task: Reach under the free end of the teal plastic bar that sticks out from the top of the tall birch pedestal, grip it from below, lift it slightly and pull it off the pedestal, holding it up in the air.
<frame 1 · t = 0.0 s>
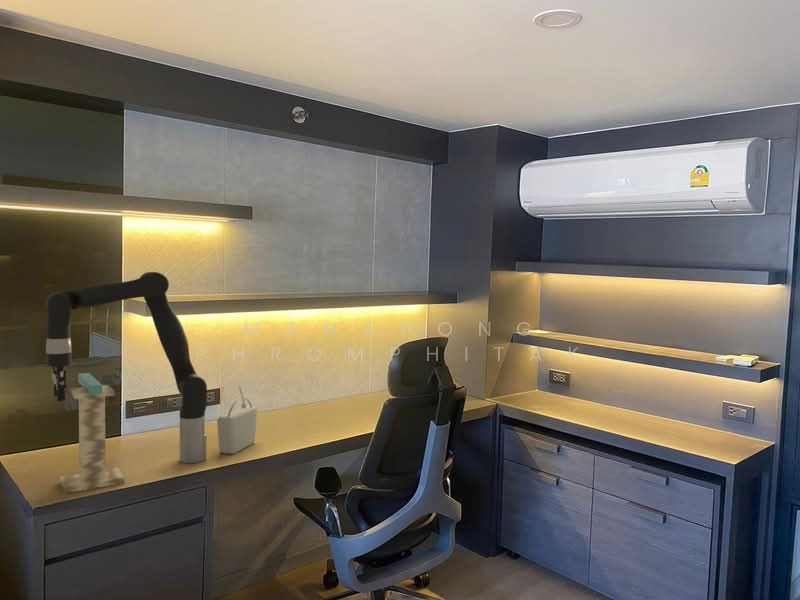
hand: (59, 398, 205), 29 cm above the table, tool pointing down, fingers open, 8 cm apart
white handbag: (236, 448, 250), on the table
stand: (92, 482, 207), on the table
bar: (89, 387, 208), point 32 cm above the table, touching stand
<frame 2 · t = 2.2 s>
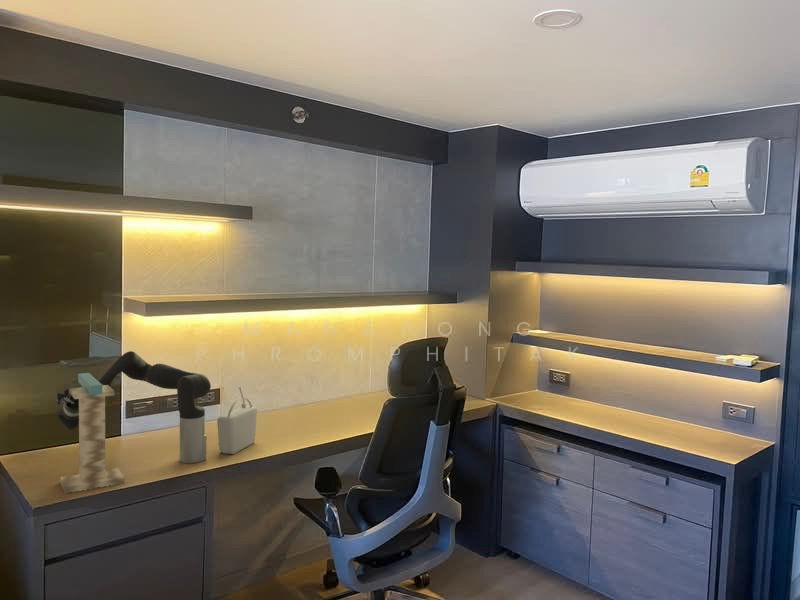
hand: (80, 390, 224), 28 cm above the table, tool pointing upward, fingers open, 8 cm apart
nothing on the table moved.
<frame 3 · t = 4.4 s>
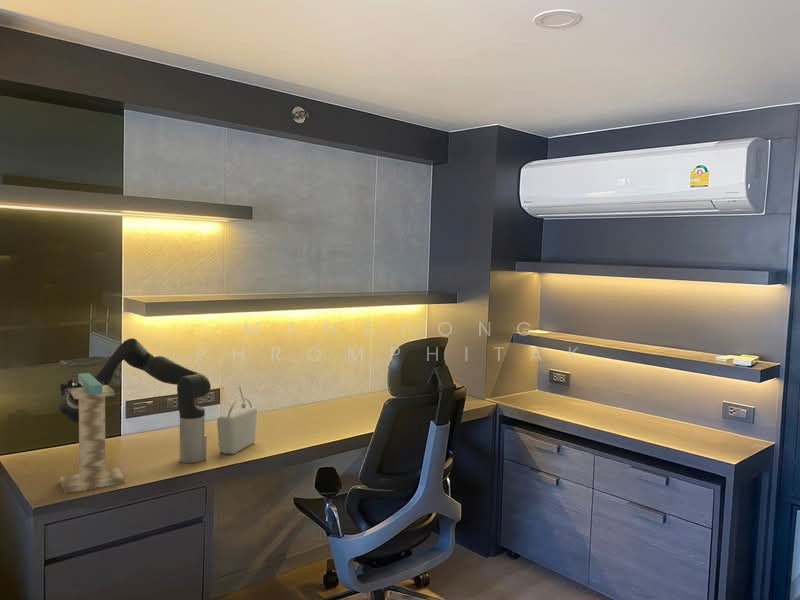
hand: (84, 380, 217), 33 cm above the table, tool pointing upward, fingers open, 8 cm apart
nothing on the table moved.
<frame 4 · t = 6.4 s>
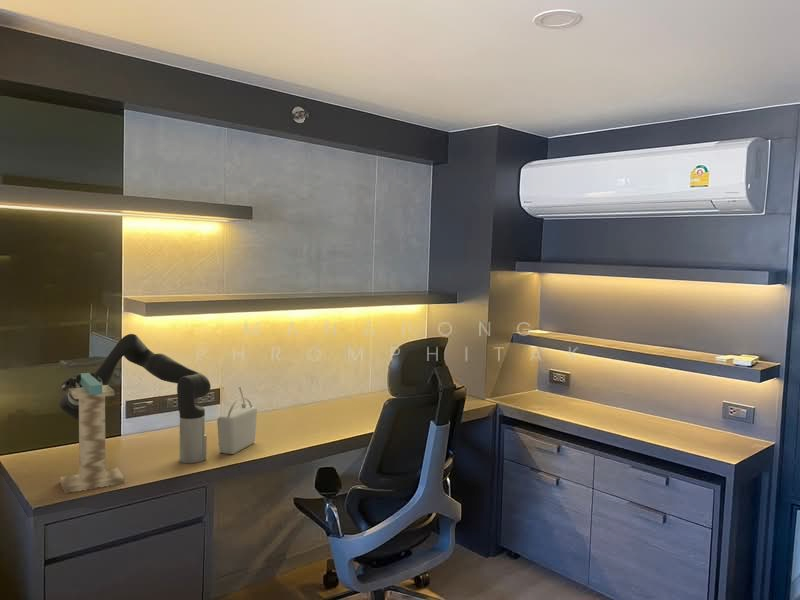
hand: (86, 376, 214), 35 cm above the table, tool pointing upward, fingers closed on bar, 3 cm apart
bar: (89, 387, 208), point 33 cm above the table, touching gripper, stand
everything else where it was.
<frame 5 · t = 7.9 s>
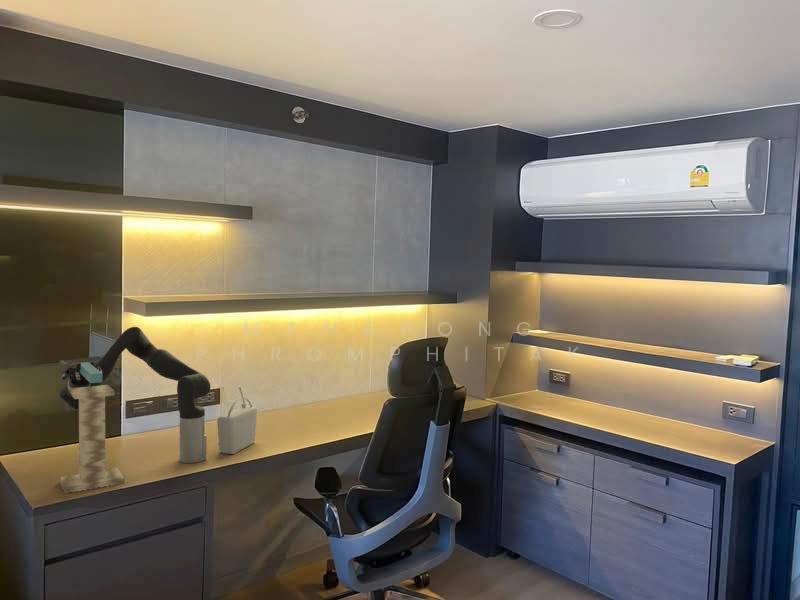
hand: (86, 365, 213), 39 cm above the table, tool pointing upward, fingers closed on bar, 3 cm apart
bar: (89, 376, 208), point 36 cm above the table, touching gripper
everything else where it was.
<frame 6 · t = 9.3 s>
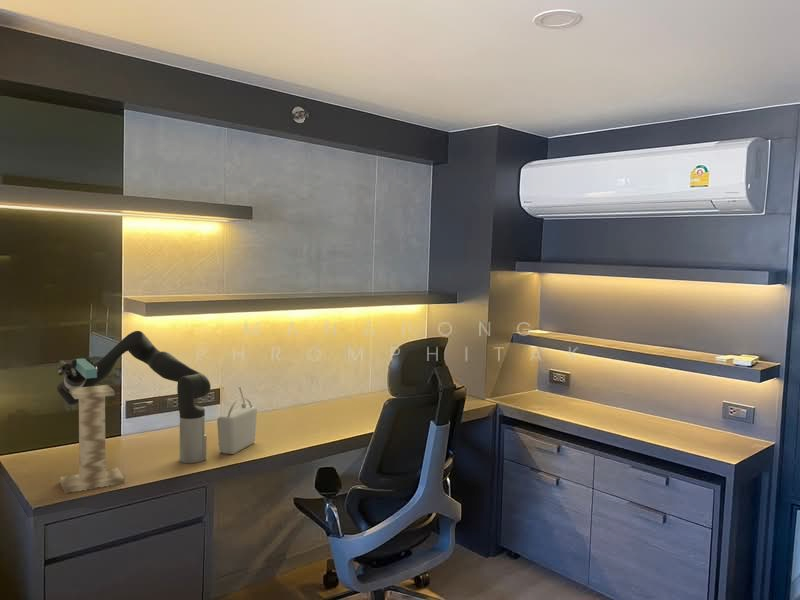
hand: (81, 361, 221), 39 cm above the table, tool pointing upward, fingers closed on bar, 3 cm apart
bar: (84, 372, 215), point 36 cm above the table, touching gripper
everything else where it was.
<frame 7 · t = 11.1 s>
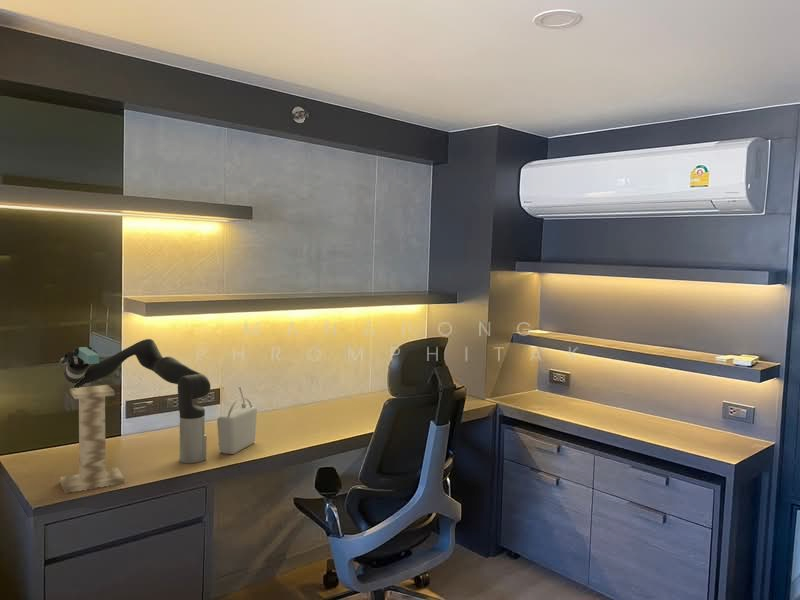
hand: (83, 349, 228), 43 cm above the table, tool pointing upward, fingers closed on bar, 3 cm apart
bar: (87, 359, 222), point 40 cm above the table, touching gripper
everything else where it was.
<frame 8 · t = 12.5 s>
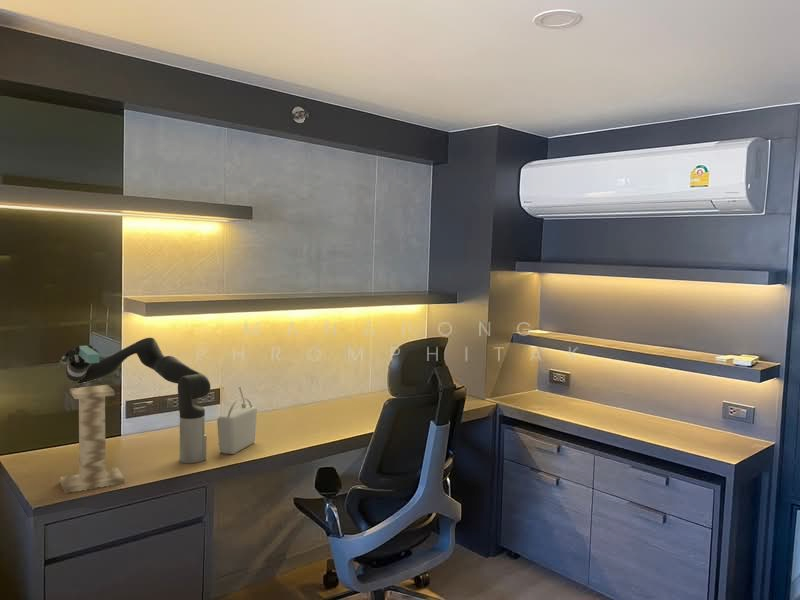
hand: (84, 347, 228), 43 cm above the table, tool pointing upward, fingers closed on bar, 3 cm apart
bar: (87, 358, 222), point 40 cm above the table, touching gripper
everything else where it was.
at the end: the gripper is holding bar; bar touching gripper; bar inside the target area (1.1 cm from its centre), point 40.4 cm above the table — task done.
